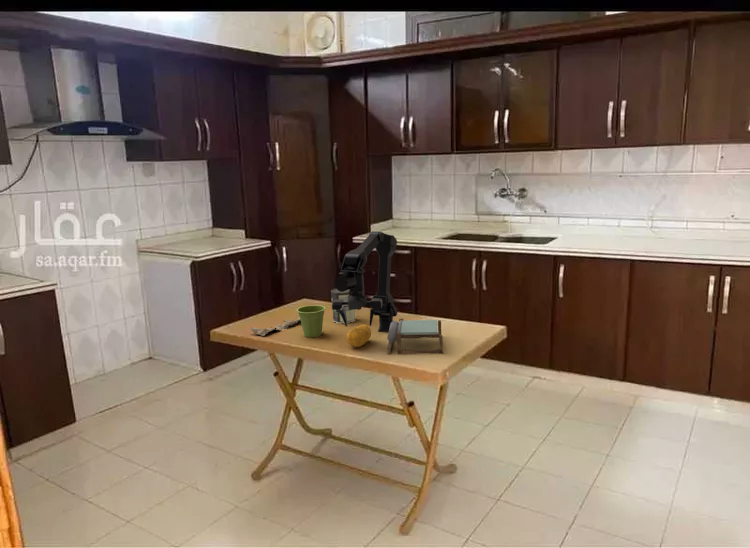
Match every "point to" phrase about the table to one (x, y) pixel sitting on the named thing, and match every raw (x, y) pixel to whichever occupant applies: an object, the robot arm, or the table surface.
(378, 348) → the table surface
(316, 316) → the plant pot
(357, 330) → the potato
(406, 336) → the trapdoor frame
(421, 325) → the trapdoor
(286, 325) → the crumpled grey wrapper
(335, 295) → the coffee can
